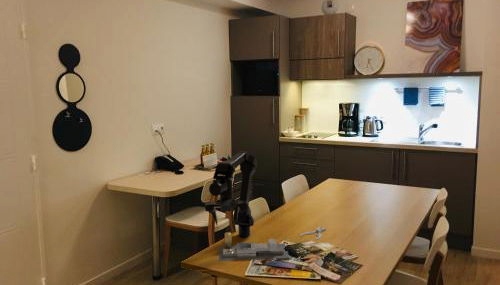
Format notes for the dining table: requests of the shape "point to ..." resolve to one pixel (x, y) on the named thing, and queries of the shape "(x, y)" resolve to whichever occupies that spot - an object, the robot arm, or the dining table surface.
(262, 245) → the metal latch plate
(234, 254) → the grey slotted plate
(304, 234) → the pliers
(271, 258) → the gray rectangular board
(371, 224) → the dining table surface
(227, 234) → the brass pin
